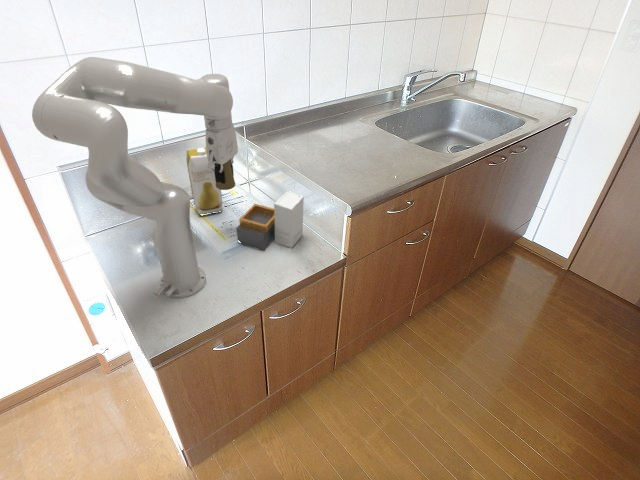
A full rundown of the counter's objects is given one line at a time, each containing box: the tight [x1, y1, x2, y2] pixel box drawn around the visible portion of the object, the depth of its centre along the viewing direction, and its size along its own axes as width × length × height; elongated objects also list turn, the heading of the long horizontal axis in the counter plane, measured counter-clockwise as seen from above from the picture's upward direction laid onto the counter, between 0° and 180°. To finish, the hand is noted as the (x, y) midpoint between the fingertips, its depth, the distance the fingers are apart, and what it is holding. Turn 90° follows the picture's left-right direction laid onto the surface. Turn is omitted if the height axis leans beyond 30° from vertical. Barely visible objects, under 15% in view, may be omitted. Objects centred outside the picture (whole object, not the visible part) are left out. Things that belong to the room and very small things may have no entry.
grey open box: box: [236, 203, 275, 252], centre depth 134 cm, size 14×10×8 cm
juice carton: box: [186, 146, 223, 214], centre depth 139 cm, size 9×8×24 cm
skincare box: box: [273, 191, 305, 249], centre depth 130 cm, size 8×7×16 cm
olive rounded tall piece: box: [215, 159, 236, 191], centre depth 125 cm, size 6×6×11 cm
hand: (224, 178), depth 127 cm, fingers closed on olive rounded tall piece, 4 cm apart
